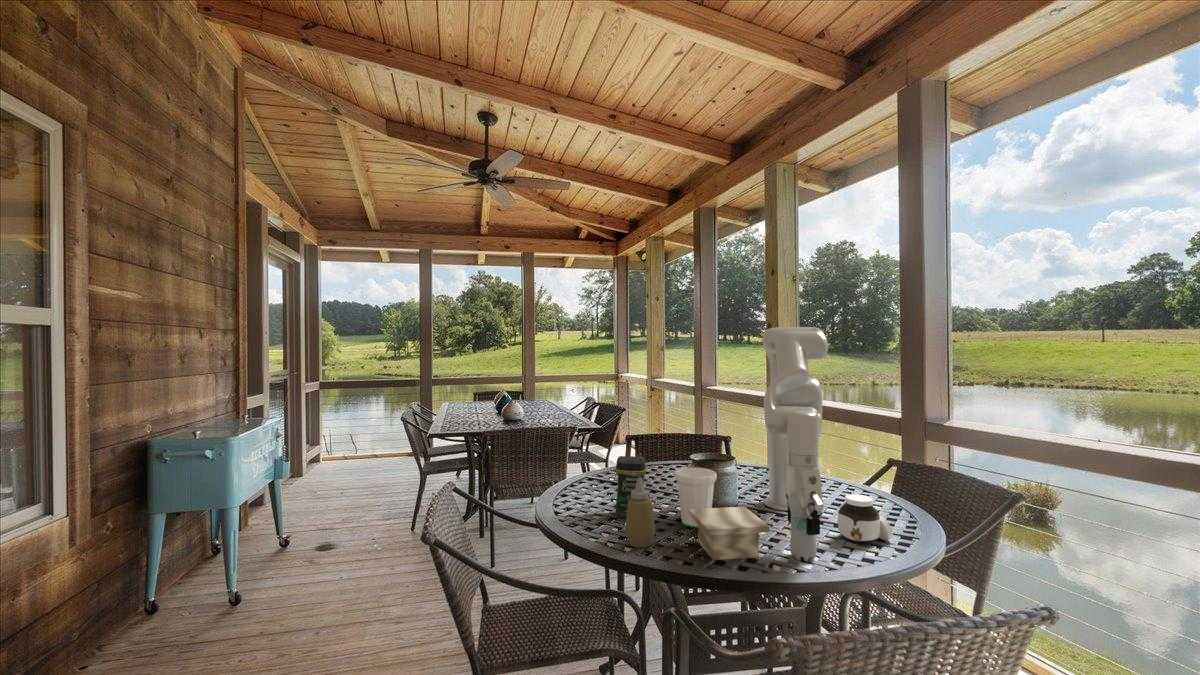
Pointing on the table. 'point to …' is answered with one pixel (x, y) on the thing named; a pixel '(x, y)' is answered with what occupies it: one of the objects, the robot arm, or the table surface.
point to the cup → (694, 491)
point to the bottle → (800, 531)
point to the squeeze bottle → (640, 517)
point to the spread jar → (862, 521)
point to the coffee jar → (627, 480)
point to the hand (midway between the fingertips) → (803, 527)
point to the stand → (729, 532)
